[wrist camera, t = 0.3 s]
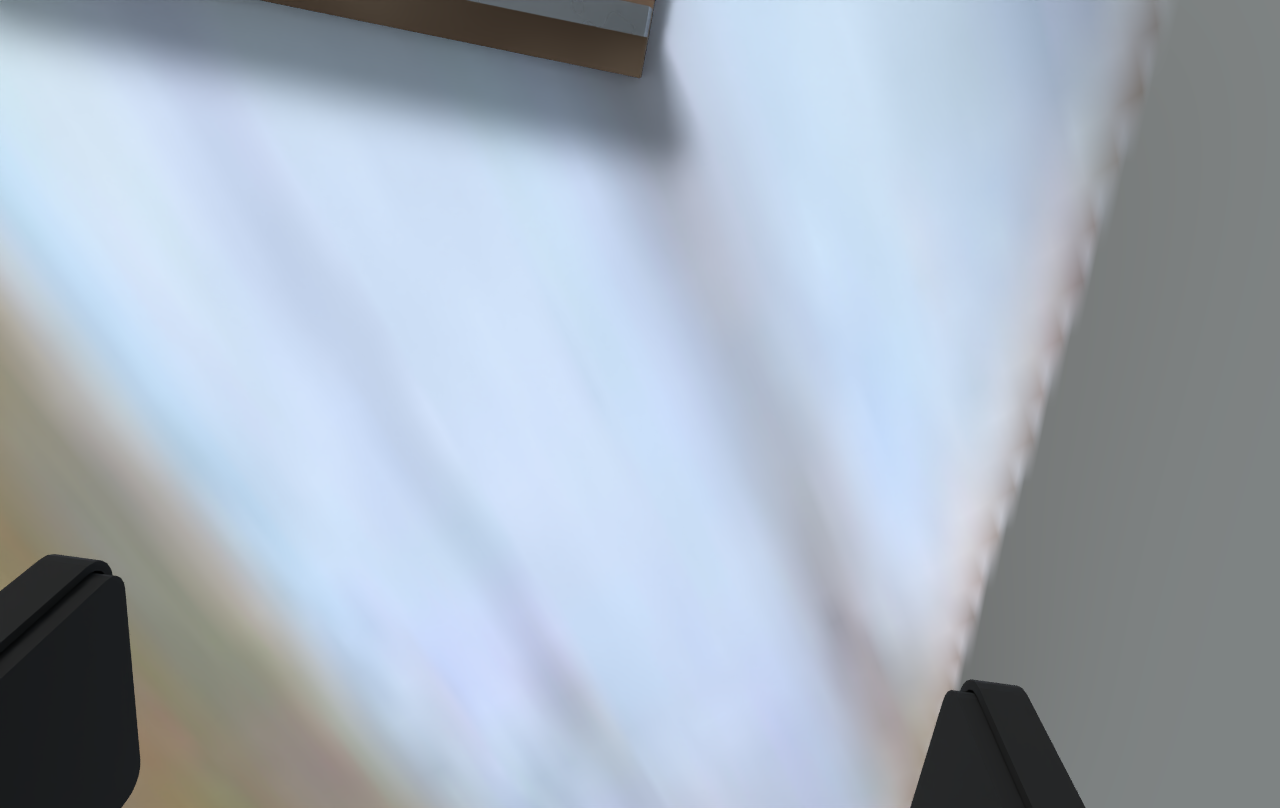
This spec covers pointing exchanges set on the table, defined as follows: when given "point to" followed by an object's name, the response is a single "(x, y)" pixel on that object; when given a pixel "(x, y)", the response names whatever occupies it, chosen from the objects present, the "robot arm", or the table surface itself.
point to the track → (518, 26)
